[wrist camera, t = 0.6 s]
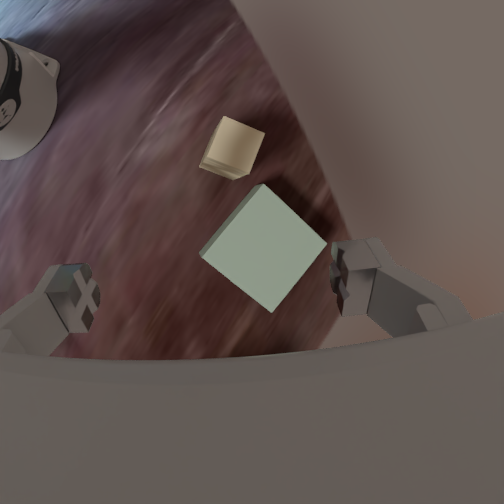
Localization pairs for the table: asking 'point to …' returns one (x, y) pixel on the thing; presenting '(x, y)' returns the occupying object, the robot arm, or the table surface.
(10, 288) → the table surface
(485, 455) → the robot arm
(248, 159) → the maple block
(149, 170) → the table surface
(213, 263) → the plinth
